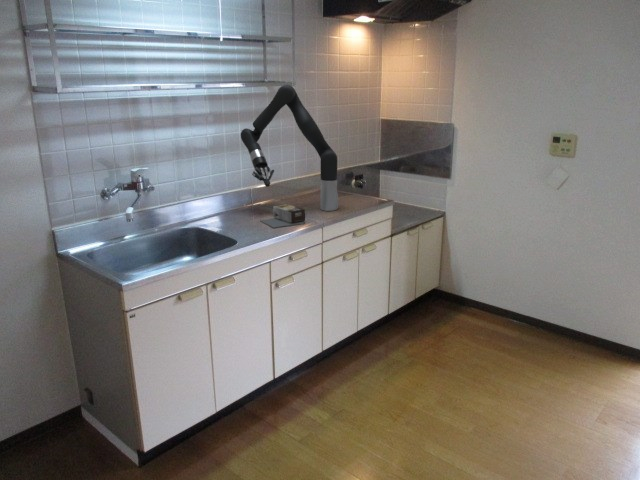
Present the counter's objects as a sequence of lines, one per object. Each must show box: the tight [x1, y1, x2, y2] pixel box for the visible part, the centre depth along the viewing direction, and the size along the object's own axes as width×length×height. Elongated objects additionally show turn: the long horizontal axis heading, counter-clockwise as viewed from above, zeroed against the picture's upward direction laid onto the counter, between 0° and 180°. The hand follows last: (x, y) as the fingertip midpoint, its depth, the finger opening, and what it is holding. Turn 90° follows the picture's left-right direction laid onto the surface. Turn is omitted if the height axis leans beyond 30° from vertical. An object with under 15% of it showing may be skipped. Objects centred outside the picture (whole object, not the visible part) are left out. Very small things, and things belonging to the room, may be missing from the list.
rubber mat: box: [259, 217, 306, 229], centre depth 272 cm, size 18×16×1 cm
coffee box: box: [272, 203, 306, 223], centre depth 275 cm, size 9×6×16 cm
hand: (268, 185), depth 281 cm, fingers closed
